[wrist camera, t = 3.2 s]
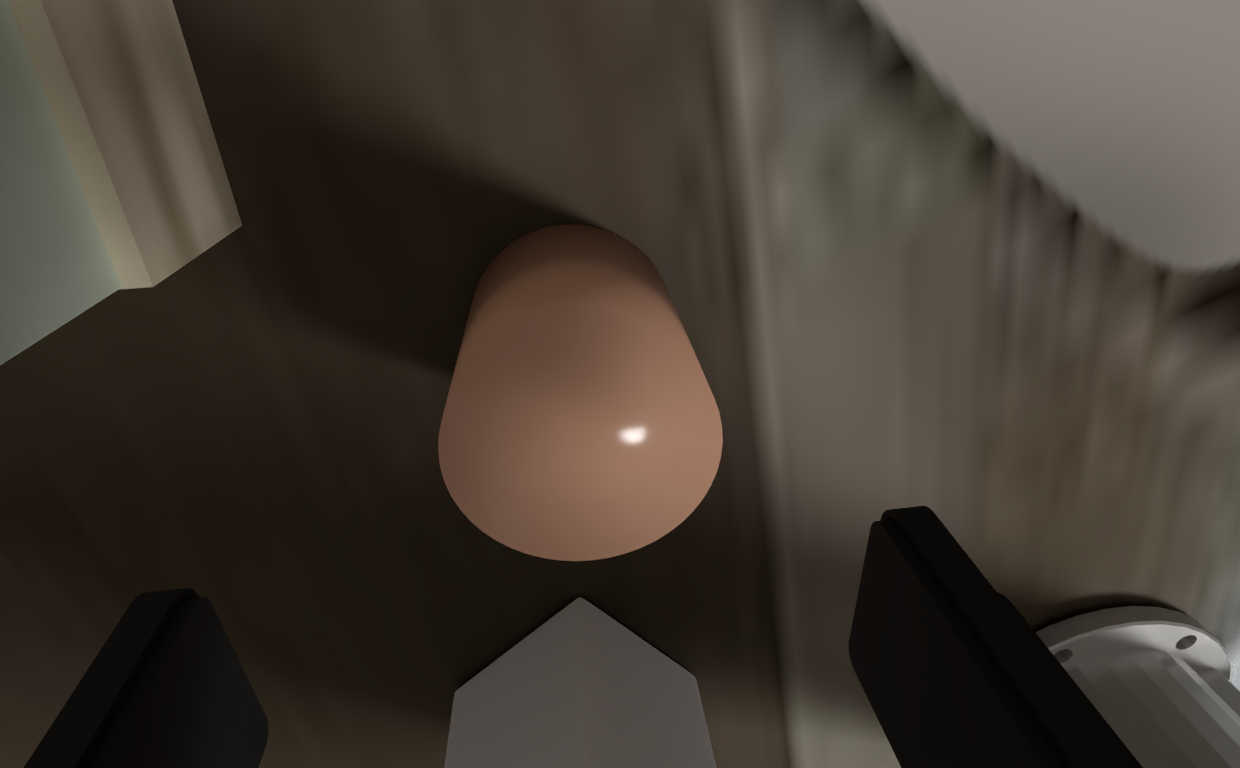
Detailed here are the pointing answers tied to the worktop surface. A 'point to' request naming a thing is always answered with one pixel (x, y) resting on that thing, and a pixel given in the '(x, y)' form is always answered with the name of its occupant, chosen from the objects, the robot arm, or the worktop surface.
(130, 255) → the birch block
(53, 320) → the sage block
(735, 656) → the worktop surface
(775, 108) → the worktop surface
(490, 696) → the milk carton
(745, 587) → the worktop surface
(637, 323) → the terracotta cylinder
